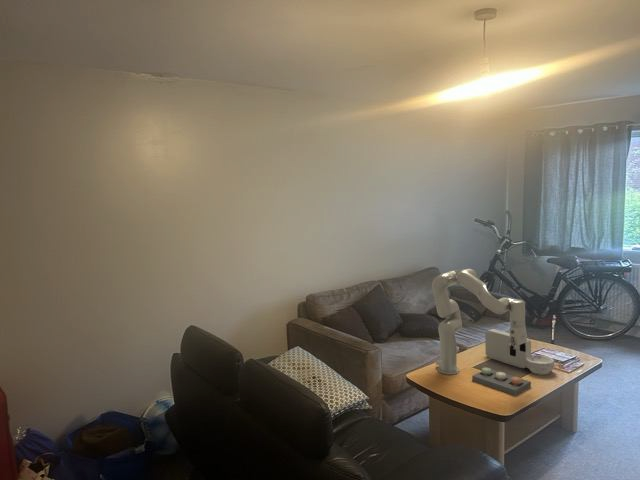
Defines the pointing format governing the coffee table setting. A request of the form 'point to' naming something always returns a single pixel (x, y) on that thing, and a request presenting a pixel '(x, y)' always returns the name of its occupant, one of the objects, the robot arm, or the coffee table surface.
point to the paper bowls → (539, 364)
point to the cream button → (500, 375)
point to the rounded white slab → (505, 348)
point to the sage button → (486, 371)
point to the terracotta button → (516, 380)
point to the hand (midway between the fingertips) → (517, 353)
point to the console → (501, 383)
